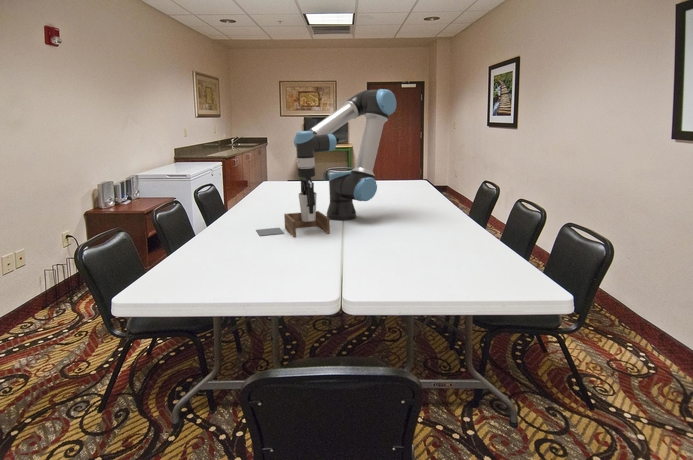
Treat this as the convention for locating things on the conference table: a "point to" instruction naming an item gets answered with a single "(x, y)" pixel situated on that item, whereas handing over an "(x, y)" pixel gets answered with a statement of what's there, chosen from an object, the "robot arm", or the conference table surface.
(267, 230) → the mat
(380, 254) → the conference table surface
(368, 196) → the robot arm
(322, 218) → the three-sided wooden box
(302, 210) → the cup
